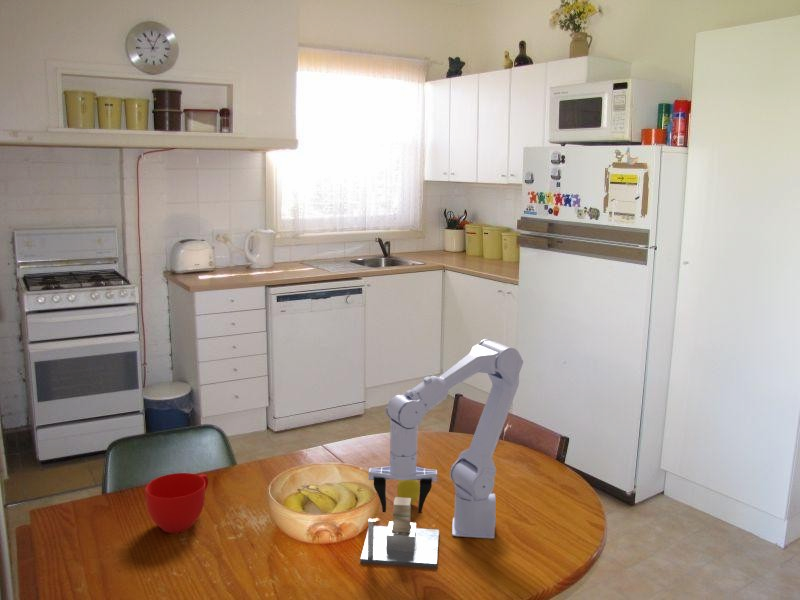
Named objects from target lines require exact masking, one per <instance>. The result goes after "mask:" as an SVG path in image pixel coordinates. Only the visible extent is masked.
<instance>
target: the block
mask: <svg viewBox="0 0 800 600" xmlns="http://www.w3.org/2000/svg"><path fill="white" fill-rule="evenodd" d="M411 504H412V503H411V498H402V497H398V496H395V497H394V499H393V504H392V505H393V506H392V507H393V510H392V511H393V512H392V522H393V531H395V532H409V530H410V523H411V516H412V515H411V514H412V513H411V511H412V507H411V506H412V505H411Z"/></svg>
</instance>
